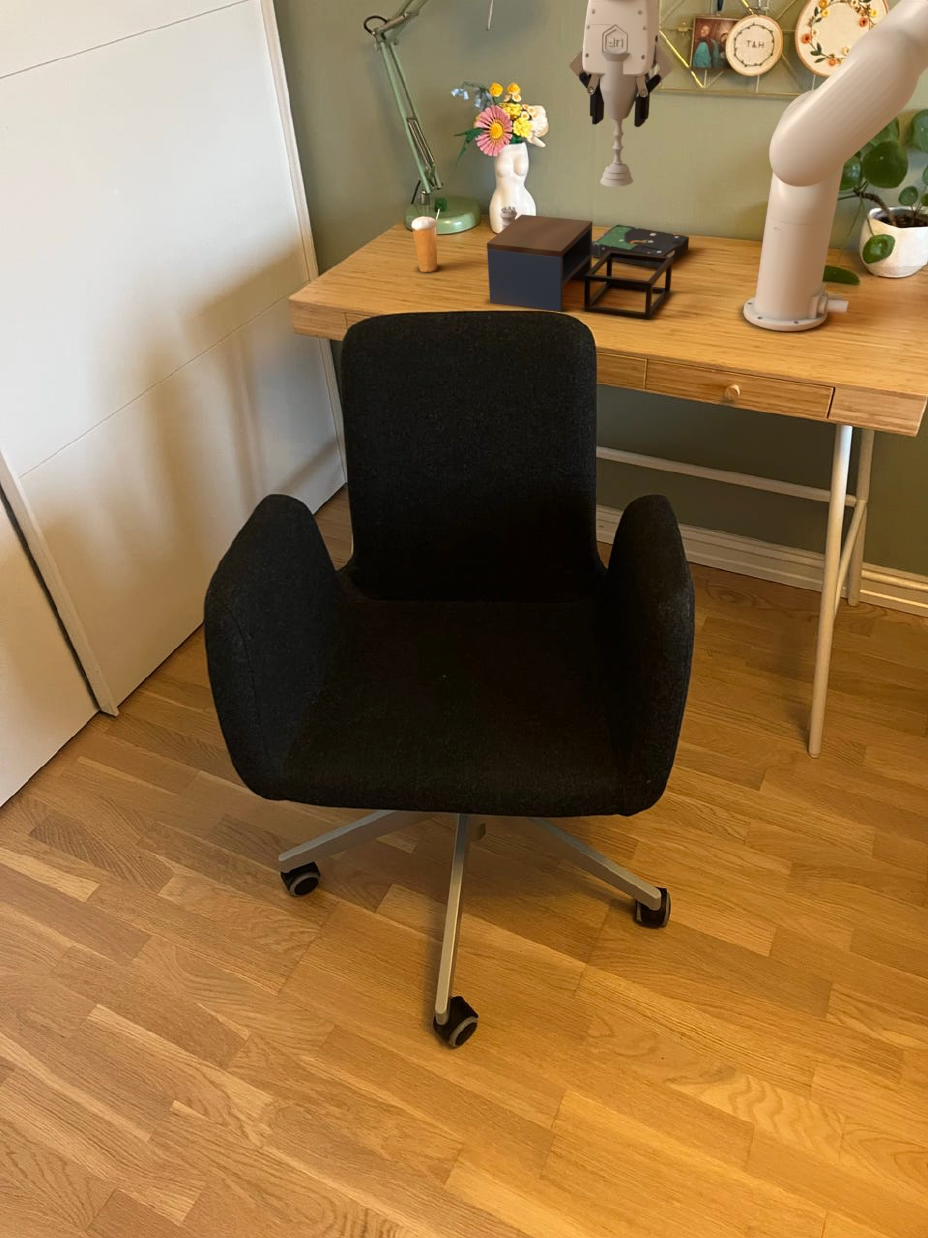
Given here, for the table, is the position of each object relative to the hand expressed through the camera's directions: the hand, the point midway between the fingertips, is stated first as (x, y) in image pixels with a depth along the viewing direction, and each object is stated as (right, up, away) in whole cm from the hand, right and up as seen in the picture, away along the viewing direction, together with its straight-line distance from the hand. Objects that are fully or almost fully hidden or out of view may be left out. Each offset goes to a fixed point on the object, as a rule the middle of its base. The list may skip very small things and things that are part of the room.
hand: (618, 121), depth 143 cm
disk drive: (+9, -7, +32) cm, 34 cm away
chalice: (+1, -6, +6) cm, 9 cm away
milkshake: (-29, -10, +34) cm, 46 cm away
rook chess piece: (-14, -5, +37) cm, 40 cm away
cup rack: (+4, -21, +17) cm, 27 cm away
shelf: (-10, -17, +23) cm, 30 cm away
